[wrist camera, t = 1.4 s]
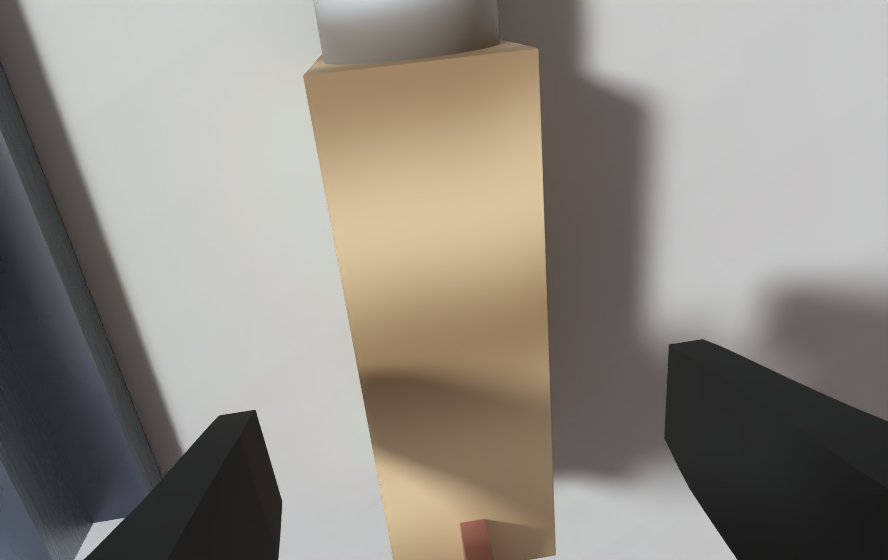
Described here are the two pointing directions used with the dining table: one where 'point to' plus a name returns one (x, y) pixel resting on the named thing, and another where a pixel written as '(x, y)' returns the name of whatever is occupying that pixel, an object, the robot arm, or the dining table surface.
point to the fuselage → (442, 267)
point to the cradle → (55, 377)
